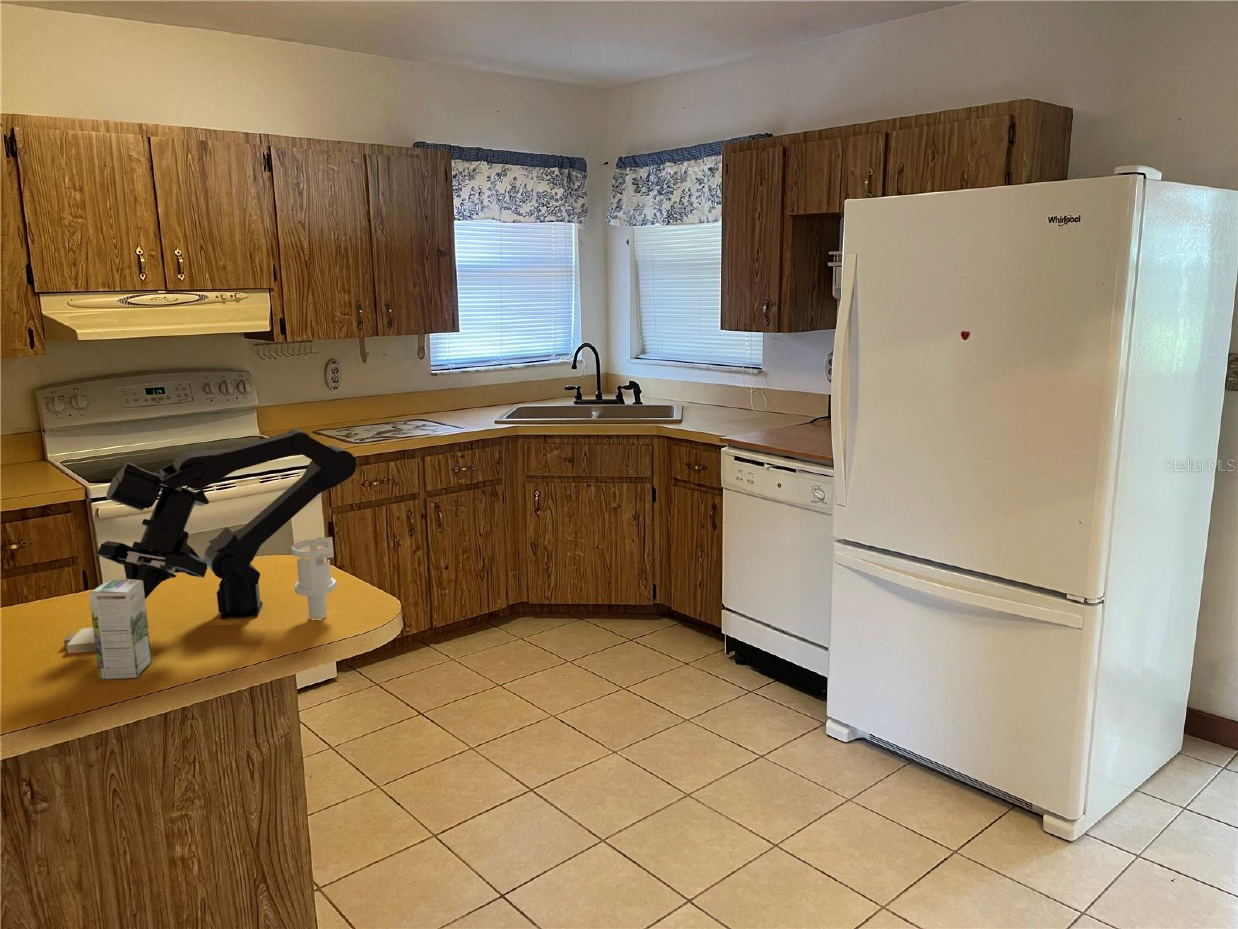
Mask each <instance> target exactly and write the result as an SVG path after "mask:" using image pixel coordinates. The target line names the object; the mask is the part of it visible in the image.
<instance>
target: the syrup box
mask: <svg viewBox="0 0 1238 929" xmlns="http://www.w3.org/2000/svg"><path fill="white" fill-rule="evenodd" d="M88 595H89V603H90V604H89V605H90V612H91V620H92V628H93V631H94V639H95V647H96V651H95V654H96V662H97V670H98V678H99V679H100V680H117V679H137V678H138V677H139V676H140V675H141V674H142V673H143V672H144V671H145V670H146V669H147V668H148V667H149V666H150V665H151V663H152V661H153V660H152V651H151V644H150V642H151V641H150V634H149V632H150V631H149V623H148V615H147V613H148V612H147V605H146V599H145V595H144V586H143V581H142V580H133V579H126V578H120V579H119V578H118V579H109V580H106V581H104V582H103V583H102V584H100V585H98V586H97V587H96V588H95V589H93V590H92V591H91V592H90V593H89V594H88Z"/></svg>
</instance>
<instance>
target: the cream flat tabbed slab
mask: <svg viewBox="0 0 1238 929" xmlns="http://www.w3.org/2000/svg"><path fill="white" fill-rule="evenodd" d="M63 644H64V649H67V654H78V653H87V652H96V647H95V639H94V631H93V627H83V628H80V629H79V631H78V632H77V633H71V634H68V635H67V636H65V638H64V639H63Z"/></svg>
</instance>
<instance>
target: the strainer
mask: <svg viewBox="0 0 1238 929" xmlns="http://www.w3.org/2000/svg"><path fill="white" fill-rule="evenodd" d="M333 541H334V540H333V536H327V537H320V536H319V537H316V538H315V539H308V540H307V539H306V540H302V541H298V542H296V543H294V544H292V545H291V546H290V547H291V554H292V555H293V556H294V557H297V558H298V559H297V560H296V564H297V575H298V576H297V577H298V581H297V582H296V583H295V584H294V592H295V594H297V595H299V596H302V597H303V596H304V597H307V605H308V606H307V607H308V619H309V618H310V619H322V618H323V617H325V616H327V617H328V615H327V614H328V613H327V604H326V600H327V599H326V594H329V593H332V592H333V591H335V590H336V588H337V580H336V579H335V578H333V577H332V572H331V561H330V558H334V555H335V554H334V542H333ZM318 546H320V547H323V548H318ZM308 547H309V550H302V549H303V548H308ZM317 548H318V549H317ZM300 549H301V550H300ZM305 558H308V559H305ZM328 558H329V559H328ZM325 559H327V562H325ZM310 619H309V620H310Z"/></svg>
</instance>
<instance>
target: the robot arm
mask: <svg viewBox="0 0 1238 929" xmlns="http://www.w3.org/2000/svg"><path fill="white" fill-rule="evenodd" d="M296 454H298V455H299V454H300V455H302V456H304V457H306V458H307V459H309V460H310V462H309V463H308V465H307V467H306V469H305V471H304V473H303V474H302V476H300V478H298V480H295V482H294V483H293V484H292V485H291V486H290V487H288V488H287V489H286V490H285V491H284V492H282V493H281V494H280V495H279V496H278V497H277V498H276V499H274V500H273V501H272V502H271V503H270V504H268V505H267V506H266V507H265V508H264V509H263V510H262V511H261V512H259V513H258V514H257V515H256V516H254V517H253V518H252V520H250V521H249V522H248V523H247V524H245V525H244V526H242V528H239V529H236V530H234V531H232V530H231V529H230V528H229V527H228V526H227V527H225V528H224V529H223V530H221V532H220V533H219V534H218V535H217V536H216V537H214V538H213V539H210V540H208V543H209V546H208V547H207V548H206V549H205V550H204V559H203V558H201V557H200V556H199V555H198V553H197V552H196V551H195V550H194V548H193V547H191V546H190V545H189V544H188V539H189V532H188V531H186V526H187V524H188V521H189V519H190V516H191V514H192V512H193V509H194V507H195V505H196V506H199V507H200V506H205V505H208V504H209V503H210V501H209V499H208V497H207V496H206V495H205V491H204V488H206V487H208V486H210V485H212V484H214V483H216V482H219V481H221V480H222V479H224V478H225V477H227V476H228V475H230V474H232V473H234V472H236V471H239V470H243V469H246V468H250V467H255V466H257V465H261V464H264V463H268V462H271V461H276V460H279V459H283V458H287V457H290V456H293V455H296ZM356 471H357V461H356V457H355V456H354V454H353V453H351V452H349V451H347V450H345V449H343V448H341V447H339V446H336V445H325V444H324V443H321V442H320V441H319V440H316V439H314V438H313V437H311V436H310V435H309V434H308V433H306V432H304V431H303V430H300V429H290V430H289V431H287V432H284V433H279V434H277V435H272V436H269V437H265V438H261V439H258V440H255V441H254V440H253V441H250V442H246V443H242V444H238V445H236V446H230V447H228V448H220V449H216V448H215V449H214V448H213V449H211V448H210V449H197V450H188V451H185V452H184V451H183V452H182V453H180V454H178V455H177V456H176V458H175V460H174V461H173V462H172V463H170V464H168V465H166V466H165V467H162V468H160V469H157V471H154V472H152V471H148V470H145V469H143V468H141V467H139V466H137V465H136V464H133V463H131V462H128V461H127V462H125V463H124V465H123V466H122V468H121V469H120V470H119V471H118V472H117V474H116V475H115V476H113V478H112V480H111V482H110V483H109V486H108V489H107V491H106V497H105V498H106V500H109V501H113V502H115V503H117V504H121V505H122V506H123V505H124V506H126V507H129V508H131V509H135V510H138V511H141V512H142V511H144V510H145V509H149V508H152V507H153V506H154V505H155V506H154V508H153V510H152V513H151V516H150V518H148V519H146V518H143V521H142V522H141V525H142V526H144V527H145V529H144V533H143V534H142V536H141V539H140V541H133V544H132V545H131V546H130V545H128V544H125V543H123V542H117V541H109V540H107V541H105V542H102V543H100V546H99V549H98V550H97V553H96V555H97V556H98V557H100V558H104V559H106V560H109V561H111V562H114V563H116V564H119V565H122V566H123V569H124V573H125V579H133V580H142V581H143V586H144V595H145V600H146V599H147V598H148V597H149V596H150V595H151V594H152V592H153V591H154V590H155V589H156V588H157V587H158V586H159V585H160V584H161V583H163V582H164V581H167V580H169V579H172V578H173V579H175V578H176V577H177V574H179V573H181V574H186V575H188V576H191V577H196V578H202V579H204V578H205V576H206V573H207V570H208V568H209V569H210V571H211V572H212V574H214V576H215V577H217V578H219V579H221V580H220V581H219V584H218V590H217V591H216V598H217V600H216V601H217V607H218V608H217V609H218V610H217V611H218V613H219V614H220V615H219V620H226V619H240V618H251V617H258V616H259V614H260V611H261V609H262V606H263V601H261V595H260V594H261V593H260V584H259V580H260V577H261V572H259V570H257V569H256V567H255V566H254V565H253V564H251V563H252V562H253V561H254V558H255V557H256V555H257V553H258V551H259V549H260V548H261V546H262V545H263V544H264V543H265V542H266V541H268V539H270V538H271V537H272V536H273V535H274V534H275V533H277V532H278V531H279V530H280V529H282V527H283V526H284V525H286V524H287V523H288V522H289V521H290V520H291V519H293V517H295V516H296V515H297V514H298V513H300V511H301V510H303V509H304V508H305V507H306V506H307V505H308V504H309V503H311V501H313V500H314V499H315V498H316V497H317V496H318V495H320V494H321V493H324V492H326V491H328V490H331V489H333V488H336V487H338V486H339V485H341V484H342V483H344V482H345V481H347V480H349V479H350V478H352V477H353V475H355V473H356ZM186 487H187V488H186ZM193 490H194V491H193ZM195 490H197V491H195ZM175 573H176V574H175Z"/></svg>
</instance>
